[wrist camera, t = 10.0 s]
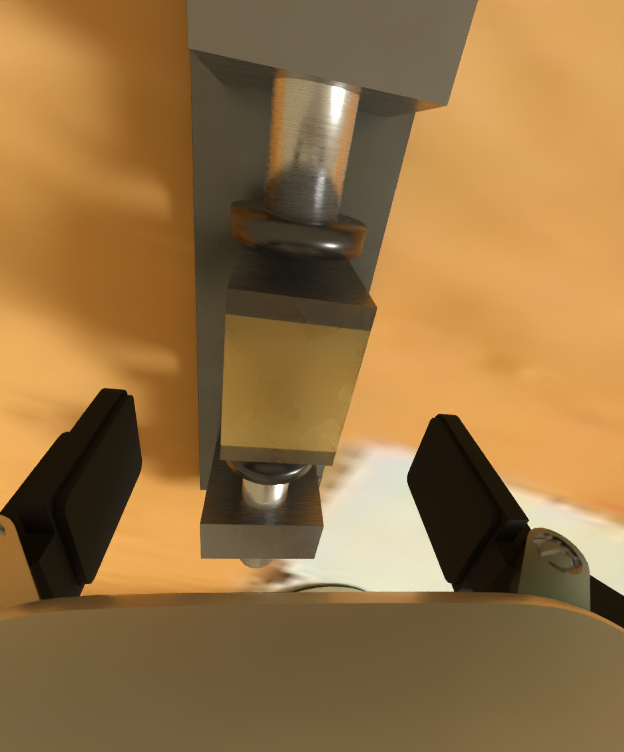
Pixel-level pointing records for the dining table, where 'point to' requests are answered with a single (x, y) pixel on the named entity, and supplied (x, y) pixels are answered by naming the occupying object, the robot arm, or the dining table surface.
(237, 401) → the two-tone brushed block
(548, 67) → the dining table surface
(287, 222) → the shaft stand
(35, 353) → the dining table surface
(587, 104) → the dining table surface
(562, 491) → the dining table surface
